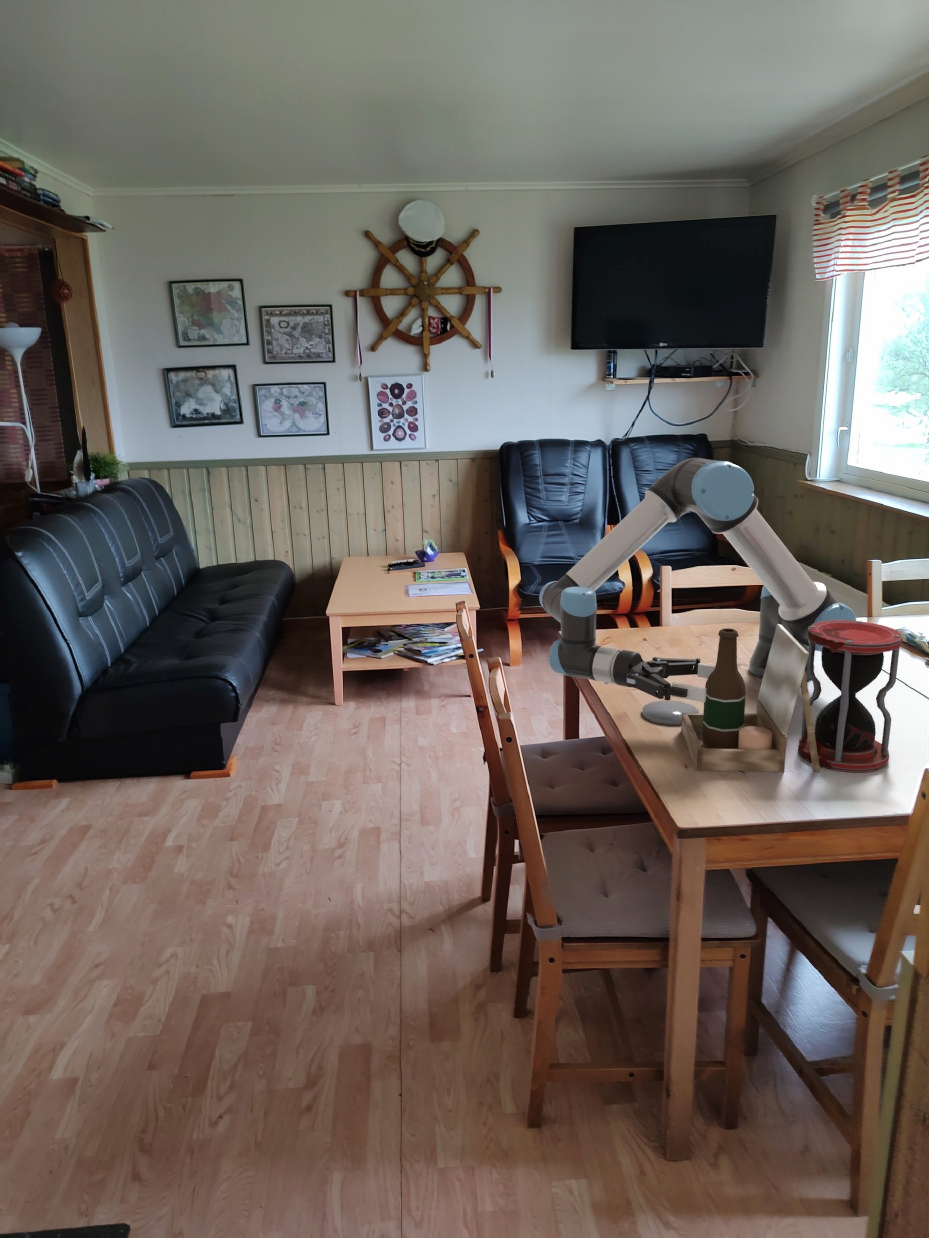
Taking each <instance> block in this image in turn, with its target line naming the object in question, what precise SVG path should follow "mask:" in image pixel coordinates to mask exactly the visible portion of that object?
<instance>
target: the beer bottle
mask: <svg viewBox="0 0 929 1238" xmlns="http://www.w3.org/2000/svg"><path fill="white" fill-rule="evenodd" d="M718 631H719V632H718V634H717V635H718V636H719V638H718V639H719V640H718V648H717V656H716V663H715V665H714V666H715V669H714V671H713V672H712V673H711V674H710V675H709V677H708V678H706V682H705V686H704V688H706V701H705V702H703V712H702V713H703V733H701V734H702V743H703V744H704V746H706V749H738V741H739V730H740V729H741V728H743V727H744V714H746V713H745V712H746V696H747V695H746V694H747V693H746V684H745V680H744V678H743V677H742V674H741V673H740V672H739V667H738V649H737V648H738V642H737V641H738V637H739V632H738V631H737V630H736V629H734V628H720V630H718Z"/></svg>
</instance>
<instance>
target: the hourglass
mask: <svg viewBox="0 0 929 1238" xmlns="http://www.w3.org/2000/svg"><path fill="white" fill-rule="evenodd" d="M808 638H809V650H808V653H809V656H808V661H807V672H808V676H809V677H810V679H809V680H811V681H812V685H813V691H812V695H811V696H809V699H810V705H811V706H812V705H813V703H814V702H816V701H817V700H818V699H819V698H820V696H821V694H822V691H823V690H822V685H821V682H820V680H819V679H818V678H817V677H816V674H815V670H814V671H813V667H814V668H815V656H816V655H815V654H816V653H815V652H816V651H815V643H816V644H818V645H820V646H823V648H822V652H821V653H820V655H821V656H820V657H821V658H820V659H821V667H822V669H823V672H824V674H825V675H826V676H827V678H828V679H829V681H831V682H832V683H833V685H835V687H836V688H837V690H839V692H840V695H838V696H837V697H835V698H834V699H833V700H832V701H830V702H829V703H828V704H827V705H825V706H824V707H823V708H822V709H821V710H820V712H819V713H818V714H817V716H816V720H815V723H814V733H815V739H816V746H817V753H818V760H819V766H820V767H823V768H826V769H830V770H834V771H840V772H849V773H869V772H874V771H878V770H880V769H883V768H885V767H886V766H887V764H889V760H890V751H889V742H890V735H891V727H892V717H891V713H890V712H889V710H888V709H887V707H886V704H885V698H886V696H887V693H888V692H889V691H890V690H891V689H892V688H893V687H894V686H895V684H896V681H897V674H898V666H899V658H900V657H899V655H900V649H901V646H903V634H902V633H901V632H900V631H898V630H896V629H895V628H892V627H889V626H886V625H882V624H878V623H874V622H866V621H863V620H862V621H861V620H856V621H847V620H839V621H824V622H819V623H815V624H813V625H811V626H810V627H809V628H808ZM886 652H891V657H890V667H889V676H888V681H887V682H886V684H885V686H883V687H882V688H880V689H879V690H878V693H877V694H876V697H875V700H876V706H877V708H878V709H879V711H880V712H881V713H882V717H883V719H884V720H883V730H882V739H881V742H880V741H877V740H876V734H877V733H876V721H875V720H874V718H873V715H872V714H871V713H870V711H869V710H868V709H867V707H866V706H865V705H864V704H863V703H862V702H861V701H860V700H859V699H858V698H857V697H856V696H857V694H858V693H859V692H861V691H862V690H864V689H865V688H866V687H868V686H869V685H870V684H871V683H873V682H874V681H875V680H876V679H877V678H878V676H879V675H880V674H881V672H882V671H883V670H882V669H883V665H884V661H885V655H884V653H886ZM801 721H802V724H801V732H800V733H801V735H800V738H799V739H798V749H797V750H798V753H799V754H800V755H801V756H802V758H804V759H805V760H807V761H808V762H810V763H812V760H811V753H810V746H809V740H808V733H807V726H806V720H805V713H804V708H803V711H802V720H801Z"/></svg>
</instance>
